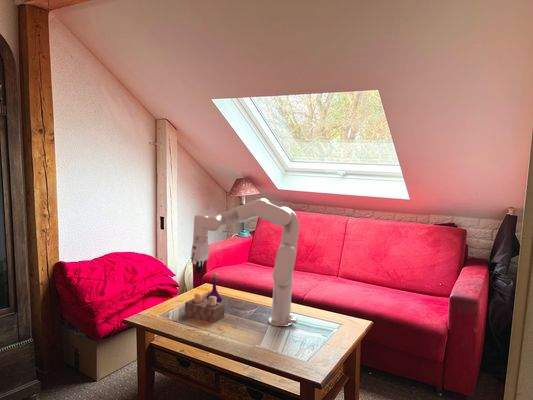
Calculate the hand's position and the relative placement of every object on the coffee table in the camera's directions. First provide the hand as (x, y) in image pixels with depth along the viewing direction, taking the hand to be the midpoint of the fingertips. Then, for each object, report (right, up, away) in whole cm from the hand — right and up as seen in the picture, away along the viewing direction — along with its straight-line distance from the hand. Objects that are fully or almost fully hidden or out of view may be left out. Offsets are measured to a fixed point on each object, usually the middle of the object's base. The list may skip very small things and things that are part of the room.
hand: (198, 273), depth 211 cm
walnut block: (+3, -23, 0) cm, 23 cm away
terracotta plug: (-1, -18, +2) cm, 18 cm away
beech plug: (+7, -19, -2) cm, 21 cm away
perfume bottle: (+6, -21, +19) cm, 29 cm away
